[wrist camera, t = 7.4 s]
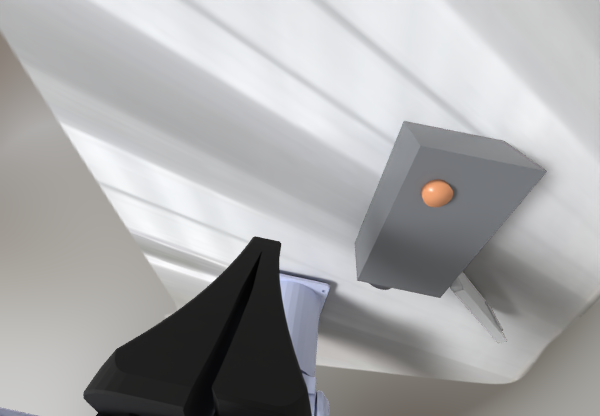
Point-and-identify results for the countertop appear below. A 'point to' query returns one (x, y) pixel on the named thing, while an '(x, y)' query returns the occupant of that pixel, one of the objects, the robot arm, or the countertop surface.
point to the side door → (478, 306)
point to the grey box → (438, 207)
